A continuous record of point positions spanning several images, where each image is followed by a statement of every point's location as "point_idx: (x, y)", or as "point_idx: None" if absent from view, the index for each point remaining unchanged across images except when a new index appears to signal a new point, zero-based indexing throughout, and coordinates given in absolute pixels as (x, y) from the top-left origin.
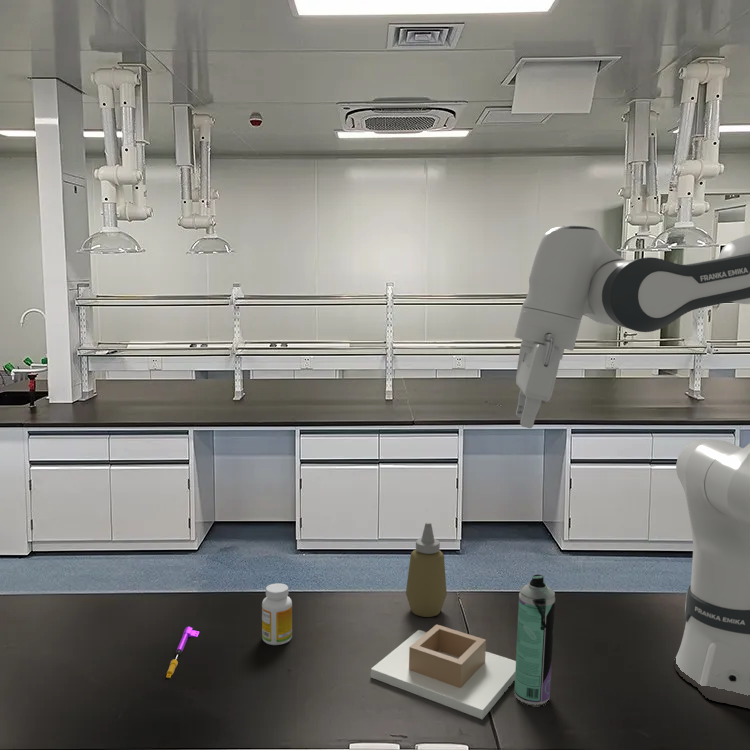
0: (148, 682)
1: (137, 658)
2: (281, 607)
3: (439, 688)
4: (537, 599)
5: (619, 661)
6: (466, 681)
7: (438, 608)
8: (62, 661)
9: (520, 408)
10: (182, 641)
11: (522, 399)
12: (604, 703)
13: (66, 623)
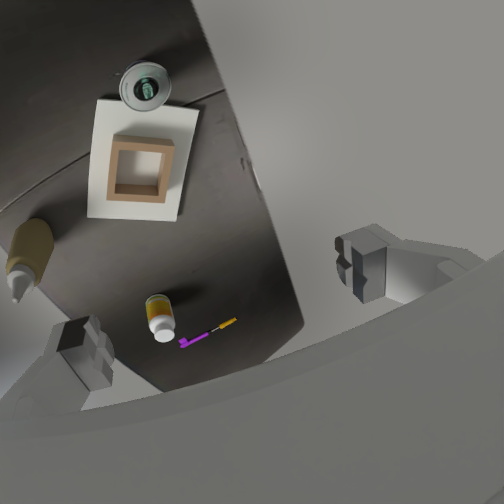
0: (243, 322)
1: (223, 341)
2: (170, 318)
3: (180, 156)
4: (170, 82)
5: (37, 18)
6: (158, 138)
7: (38, 220)
8: (241, 360)
9: (106, 372)
10: (199, 338)
11: (63, 411)
12: (126, 12)
13: None
